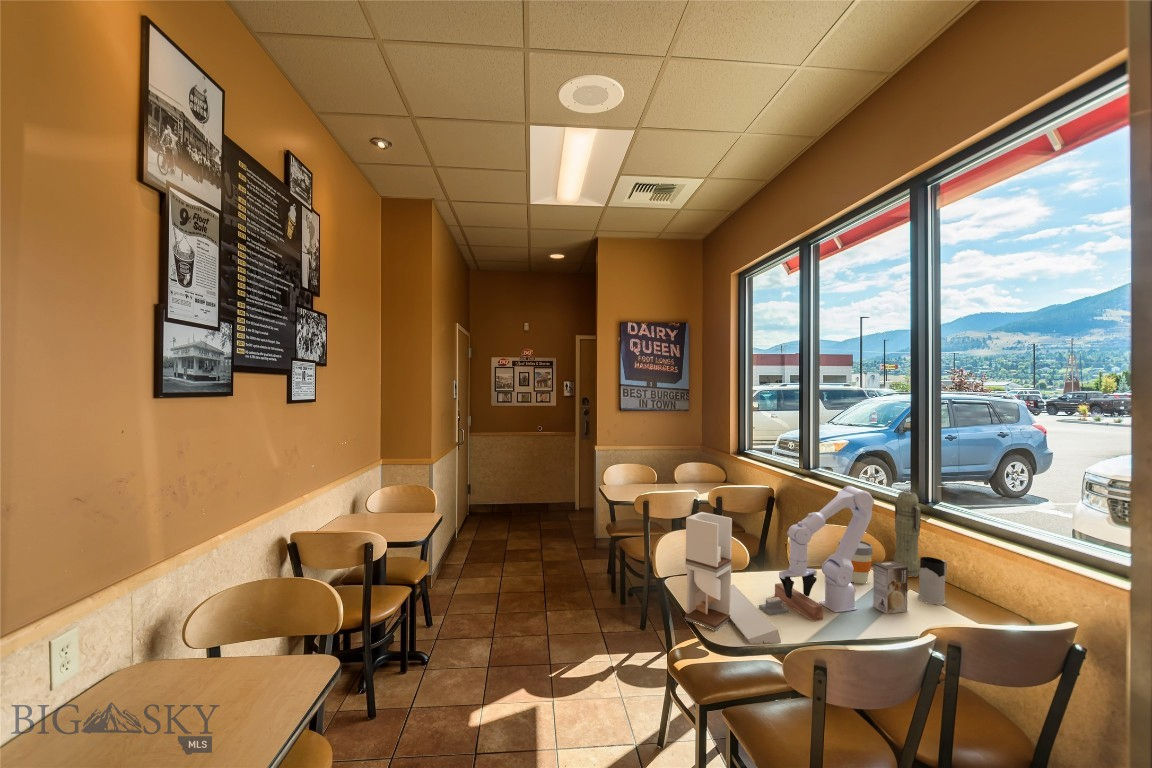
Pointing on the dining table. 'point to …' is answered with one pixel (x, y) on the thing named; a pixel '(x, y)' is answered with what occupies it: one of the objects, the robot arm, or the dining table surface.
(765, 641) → the decorative molding
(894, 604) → the coffee box
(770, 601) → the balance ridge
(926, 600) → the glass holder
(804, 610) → the mahogany rod
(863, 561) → the reusable coffee cup
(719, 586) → the white tower model
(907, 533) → the thermos
